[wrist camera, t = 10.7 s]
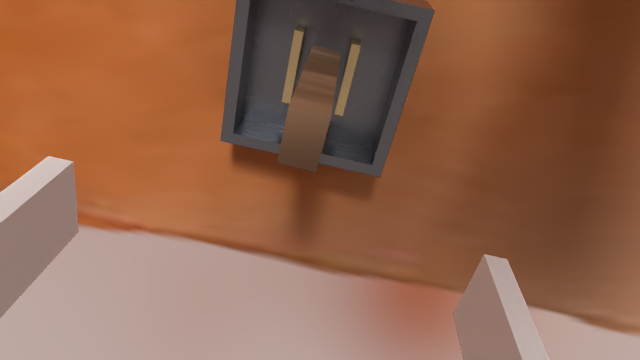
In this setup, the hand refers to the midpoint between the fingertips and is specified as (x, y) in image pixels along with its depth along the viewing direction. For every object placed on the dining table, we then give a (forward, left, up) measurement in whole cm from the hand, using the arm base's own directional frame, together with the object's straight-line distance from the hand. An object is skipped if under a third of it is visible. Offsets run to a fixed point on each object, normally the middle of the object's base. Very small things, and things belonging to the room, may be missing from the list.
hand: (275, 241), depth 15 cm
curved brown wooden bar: (0, 0, -20) cm, 20 cm away
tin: (0, 0, -21) cm, 21 cm away
